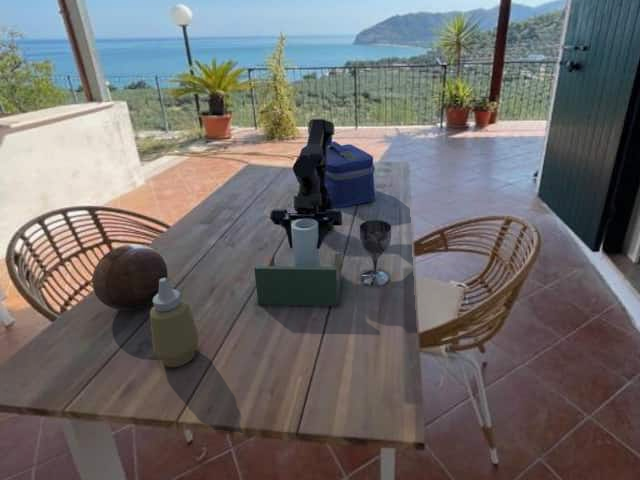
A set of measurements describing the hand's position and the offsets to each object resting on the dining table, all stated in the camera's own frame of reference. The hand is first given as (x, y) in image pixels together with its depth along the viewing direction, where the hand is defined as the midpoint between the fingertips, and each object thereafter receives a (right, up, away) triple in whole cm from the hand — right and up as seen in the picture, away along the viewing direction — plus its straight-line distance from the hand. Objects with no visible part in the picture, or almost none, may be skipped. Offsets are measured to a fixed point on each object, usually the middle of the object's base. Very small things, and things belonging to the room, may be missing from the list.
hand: (304, 248), depth 101 cm
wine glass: (+18, -8, +2) cm, 20 cm away
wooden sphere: (-39, -12, -8) cm, 41 cm away
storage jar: (0, -6, +4) cm, 7 cm away
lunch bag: (+7, +14, +59) cm, 61 cm away
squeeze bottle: (-21, -18, -24) cm, 37 cm away
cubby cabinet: (0, -10, -3) cm, 11 cm away
